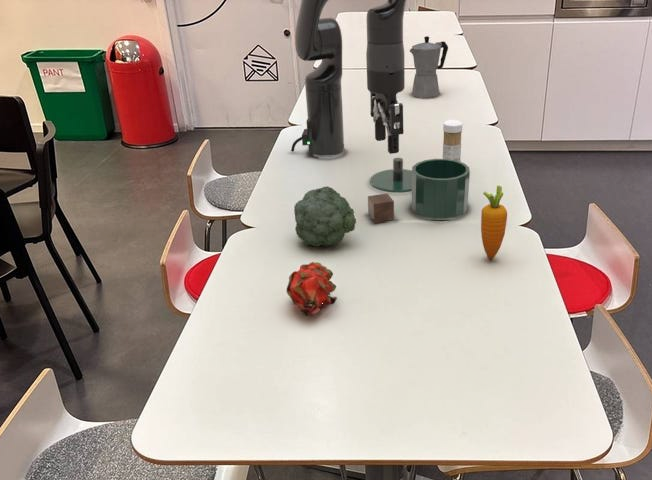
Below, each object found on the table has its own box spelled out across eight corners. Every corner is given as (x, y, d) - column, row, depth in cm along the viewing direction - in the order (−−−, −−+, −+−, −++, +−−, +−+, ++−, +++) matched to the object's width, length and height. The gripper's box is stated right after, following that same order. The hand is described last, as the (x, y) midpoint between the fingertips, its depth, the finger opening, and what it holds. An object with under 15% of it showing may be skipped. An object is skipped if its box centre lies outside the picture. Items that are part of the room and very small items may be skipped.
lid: (368, 194, 168) (367, 169, 164) (372, 173, 179) (371, 149, 175) (425, 194, 167) (426, 170, 163) (425, 173, 178) (426, 149, 174)
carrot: (487, 267, 138) (493, 195, 129) (473, 257, 141) (477, 186, 132) (508, 261, 139) (515, 189, 131) (493, 251, 143) (499, 181, 134)
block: (374, 223, 155) (373, 204, 152) (368, 215, 158) (367, 195, 155) (394, 220, 156) (394, 201, 153) (387, 212, 159) (387, 193, 157)
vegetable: (376, 221, 150) (353, 218, 136) (335, 261, 155) (309, 262, 140) (340, 178, 151) (313, 171, 137) (300, 220, 155) (270, 217, 141)
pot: (410, 220, 156) (411, 179, 150) (412, 197, 166) (412, 158, 160) (468, 221, 155) (470, 180, 149) (465, 198, 165) (468, 158, 159)
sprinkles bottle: (455, 171, 179) (457, 118, 171) (462, 178, 175) (465, 123, 167) (438, 174, 177) (440, 120, 169) (446, 180, 174) (448, 126, 166)
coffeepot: (418, 101, 229) (419, 41, 218) (401, 94, 235) (401, 36, 224) (454, 93, 236) (457, 35, 225) (437, 87, 242) (438, 30, 232)
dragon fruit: (319, 294, 133) (316, 337, 125) (280, 274, 130) (274, 316, 121) (344, 264, 128) (343, 307, 120) (304, 242, 125) (299, 284, 116)
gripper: (357, 59, 144) (360, 138, 153) (378, 75, 133) (380, 159, 142) (391, 56, 146) (392, 134, 155) (415, 71, 135) (415, 155, 144)
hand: (386, 146), depth 149 cm, fingers open, 8 cm apart
